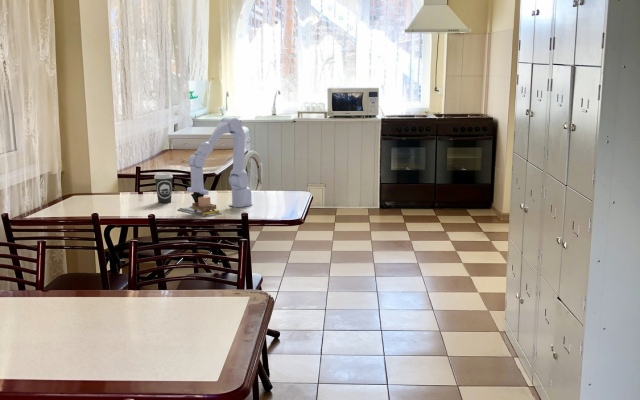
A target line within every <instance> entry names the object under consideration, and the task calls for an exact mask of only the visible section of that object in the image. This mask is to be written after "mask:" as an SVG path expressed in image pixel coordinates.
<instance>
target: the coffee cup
mask: <svg viewBox="0 0 640 400" xmlns="http://www.w3.org/2000/svg"><path fill="white" fill-rule="evenodd" d="M173 177H174V176H173V174H172V172H166V171H165V172H164V171H163V172H156V173H155V174H154V177H153V179H154V182H155V186H156V187H155V188H156V197H157V202H158V204H170V203H172V195H173V194H172V193H173V192H172V190H173Z"/></svg>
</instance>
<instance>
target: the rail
mask: <svg viewBox="0 0 640 400" xmlns="http://www.w3.org/2000/svg"><path fill="white" fill-rule="evenodd" d="M177 211H179V212H183V213H188V214H192V215H196V216H201V217H206V218H207V217H208V218H209V217H213V216H217V215H222V214H223V213H222V212H220V209H214V210H213V211H212V210H209V211H204V212H201V211H198V210H197V211H196V212H195V211H194V210H193V209H192V205H190V206H189V207H180V208H178V209H177Z"/></svg>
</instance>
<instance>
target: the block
mask: <svg viewBox="0 0 640 400" xmlns="http://www.w3.org/2000/svg"><path fill="white" fill-rule="evenodd" d="M198 204H199V206H200V207H206V206H211V204H212V203H211V196H208V195H204V196H203V197H198Z"/></svg>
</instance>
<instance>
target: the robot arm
mask: <svg viewBox="0 0 640 400" xmlns="http://www.w3.org/2000/svg"><path fill="white" fill-rule="evenodd" d="M225 134H230V135H231V136H232V137H233V138H232V139H233V146H232V147H233V151H232V157H233V158H232V160H233V161H232V169H231V170H230V173H229V177H228V184H229V185H230V188H231V203H229V204H228V206H229V207H234V208H243V207H248V206H253V205H254V204H253V203H252V202H253V201H252V191H251V188H250V187H248V186H249V183H250V181H249V177H248V172H247V171H246V170H245V142H246V141H245V139H246V138H245V137H246V136H245V135H246V134H245V130H244V128H243V122H241V121H240V119H238V118H231V117H226V116H225V117H223V118H221V120H220V121H219V122H218V123H217V126H216V128H215V129H214V130H213V132H212V134H211V135H210V136H209V138H208V139H207V140H206V141H203V142H201V143H200V144H199V147H198V148H197V150H195V151H194V152H193V154H191V155H190V156H189V158H188V160H187V164H188V165H189V168H190V185H191V186H190V187H189V186H188V187H187V188H186V192H189V193H191V194H190V196H191V197H192V200H193V203H196V202H198V197H203V196H209V190H208V189H205V188H204V169H203V167H204V165H205V164H206V159H207V158H208V156H209V155H211V153H212V152H213V150H214V145H215V144H216V143H217V142H218V141H219V139H220V138H221V137H222V136H223V135H225Z"/></svg>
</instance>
